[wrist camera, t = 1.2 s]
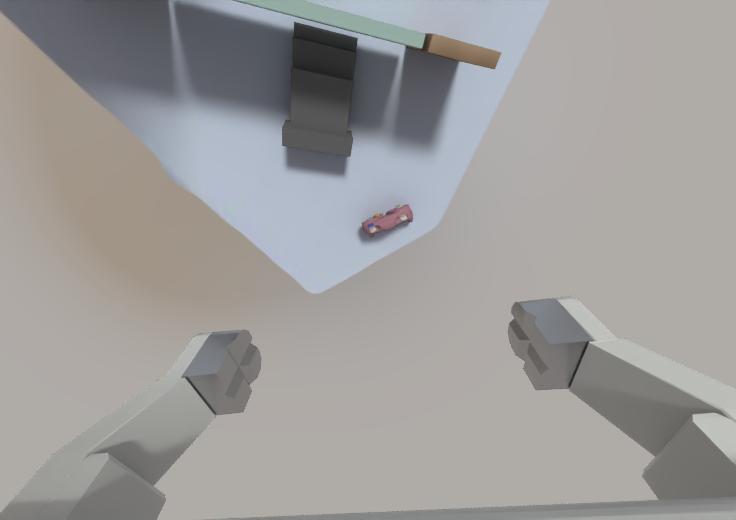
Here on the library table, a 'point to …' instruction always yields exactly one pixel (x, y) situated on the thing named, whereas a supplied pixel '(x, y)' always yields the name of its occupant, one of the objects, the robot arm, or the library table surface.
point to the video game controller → (388, 220)
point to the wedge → (320, 91)
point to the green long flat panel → (342, 20)
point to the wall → (459, 51)
